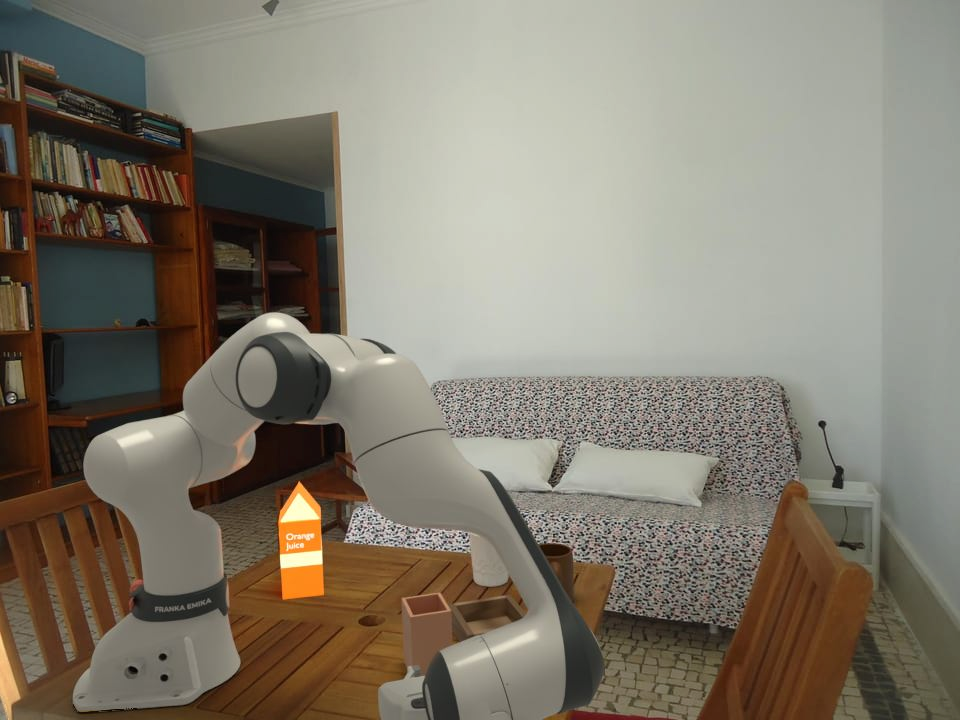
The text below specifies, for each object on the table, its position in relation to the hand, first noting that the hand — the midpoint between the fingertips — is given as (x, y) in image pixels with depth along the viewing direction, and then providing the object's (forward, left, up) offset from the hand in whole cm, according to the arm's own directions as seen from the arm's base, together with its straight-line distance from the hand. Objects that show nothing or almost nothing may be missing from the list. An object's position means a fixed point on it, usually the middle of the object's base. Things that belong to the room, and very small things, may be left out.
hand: (447, 664), depth 96 cm
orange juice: (-16, +50, -7) cm, 53 cm away
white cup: (+19, +41, -7) cm, 46 cm away
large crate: (+12, +19, -7) cm, 24 cm away
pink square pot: (0, +12, -7) cm, 14 cm away
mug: (+26, +26, -7) cm, 38 cm away
